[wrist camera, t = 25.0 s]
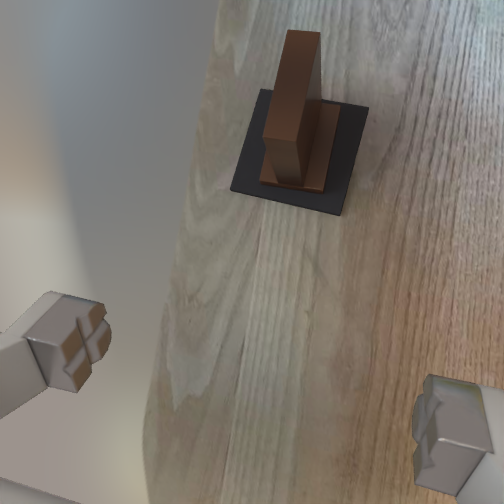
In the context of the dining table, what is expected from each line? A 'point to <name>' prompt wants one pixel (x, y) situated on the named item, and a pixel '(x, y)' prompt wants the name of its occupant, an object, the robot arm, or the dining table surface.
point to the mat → (338, 169)
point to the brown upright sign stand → (299, 119)
